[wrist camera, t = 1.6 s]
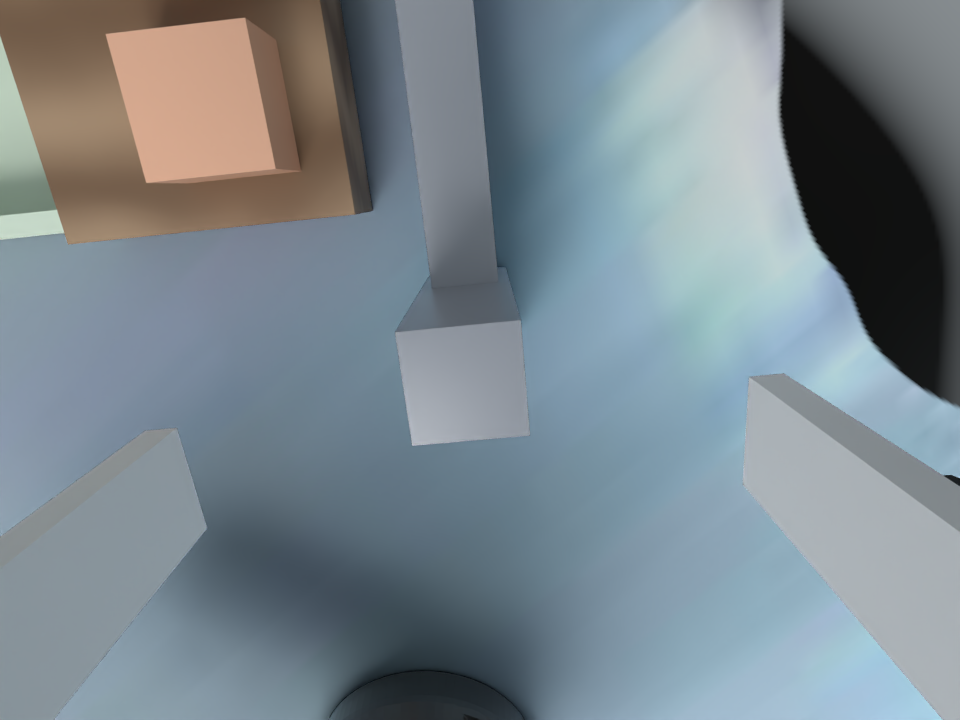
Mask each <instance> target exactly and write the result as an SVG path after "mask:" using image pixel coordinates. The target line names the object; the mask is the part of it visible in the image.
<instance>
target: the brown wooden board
mask: <svg viewBox="0 0 960 720" xmlns="http://www.w3.org/2000/svg"><path fill="white" fill-rule="evenodd" d="M237 18H246V19H248V20H249V21H250V22H252V23H253V24H255V25H256V26H257V27H259V28H260V29H262V30H263V31H264V32H266V33H267V34H269V35H270V36H271V37H273V38H274V39H276V41H277V47H278V52H279V57H280V62H281V68H282V73H283V78H284V83H285V89H286V94H287V99H288V105H289V110H290V115H291V120H292V126H293V131H294V136H295V142H296V147H297V152H298V157H299V163H300V168H301V171H299V172H290V173H281V174H271V175H262V176H253V177H243V178H234V179H225V180H215V181H206V182H197V183H146V180H145V177H144V173H143V169H142V166H141V162H140V158H139V155H138V151H137V147H136V144H135V140H134V136H133V133H132V129H131V125H130V122H129V118H128V114H127V111H126V107H125V103H124V100H123V96H122V92H121V89H120V85H119V81H118V78H117V74H116V71H115V67H114V63H113V60H112V56H111V52H110V49H109V45H108V41H107V38H106V34H110V33H118V32H127V31H135V30H144V29H152V28H161V27H169V26H178V25H186V24H195V23H203V22H212V21H220V20H229V19H237ZM0 37H1V40H2V43H3V46H4V49H5V52H6V55H7V59H8V62H9V65H10V68H11V71H12V74H13V77H14V80H15V83H16V86H17V89H18V92H19V95H20V98H21V101H22V105H23V108H24V111H25V114H26V117H27V120H28V123H29V126H30V129H31V132H32V135H33V138H34V141H35V144H36V147H37V151H38V154H39V157H40V160H41V163H42V166H43V169H44V172H45V175H46V178H47V181H48V184H49V187H50V190H51V193H52V197H53V200H54V203H55V206H56V209H57V212H58V215H59V218H60V221H61V224H62V227H63V230H64V233H65V236H66V239H67V243H68V244H76V243H86V242H96V241H105V240H115V239H124V238H134V237H144V236H153V235H163V234H172V233H182V232H192V231H201V230H211V229H220V228H230V227H240V226H249V225H259V224H268V223H278V222H288V221H297V220H307V219H316V218H326V217H336V216H345V215H355V214H360V213H364V212H369V211H373V210H372V203H371V197H370V190H369V184H368V178H367V171H366V165H365V158H364V152H363V145H362V139H361V132H360V126H359V119H358V113H357V107H356V100H355V94H354V87H353V81H352V74H351V68H350V61H349V55H348V48H347V42H346V35H345V29H344V23H343V16H342V10H341V3H340V0H0Z"/></svg>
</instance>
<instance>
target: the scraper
mask: <svg viewBox="0 0 960 720" xmlns="http://www.w3.org/2000/svg"><path fill="white" fill-rule="evenodd" d="M395 5H396V13H397V21H398V28H399V36H400V44H401V52H402V60H403V67H404V75H405V83H406V91H407V99H408V107H409V114H410V122H411V130H412V138H413V146H414V153H415V161H416V169H417V177H418V185H419V192H420V200H421V208H422V216H423V224H424V231H425V239H426V247H427V255H428V263H429V270H430V275H429V277H428V278H427V280H426V282H425V283H424V285H423V287H422V288H421V290H420V292H419V293H418V295H417V297H416V298H415V300H414V301H413V303H412V305H411V306H410V308H409V310H408V311H407V313H406V315H405V316H404V318H403V320H402V321H401V323H400V325H399V326H398V328H397V329H396V331H395V337H396V343H397V350H398V357H399V363H400V370H401V376H402V383H403V389H404V396H405V402H406V409H407V415H408V422H409V429H410V435H411V442H412V446H417V445H429V444H440V443H451V442H463V441H474V440H485V439H497V438H508V437H519V436H530V429H529V417H528V404H527V392H526V379H525V366H524V354H523V341H522V328H521V319H520V315H519V312H518V308H517V305H516V301H515V298H514V294H513V291H512V287H511V284H510V280H509V277H508V273H507V270H506V267H497V260H496V249H495V238H494V227H493V216H492V205H491V193H490V182H489V171H488V160H487V149H486V138H485V127H484V116H483V105H482V93H481V82H480V71H479V60H478V49H477V38H476V27H475V16H474V5H473V0H395Z"/></svg>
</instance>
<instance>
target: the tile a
mask: <svg viewBox="0 0 960 720" xmlns="http://www.w3.org/2000/svg"><path fill="white" fill-rule="evenodd" d="M106 38H107V41H108V45H109V49H110V52H111V56H112V60H113V63H114V67H115V71H116V74H117V78H118V81H119V85H120V89H121V92H122V96H123V100H124V103H125V107H126V111H127V114H128V118H129V122H130V125H131V129H132V133H133V136H134V140H135V144H136V147H137V151H138V155H139V158H140V162H141V166H142V169H143V173H144V177H145V180H146V183H197V182H206V181H215V180H225V179H234V178H243V177H253V176H262V175H271V174H281V173H290V172H299V171H301V168H300V163H299V157H298V152H297V147H296V142H295V136H294V131H293V126H292V120H291V115H290V110H289V105H288V99H287V94H286V89H285V83H284V78H283V73H282V68H281V62H280V57H279V52H278V47H277V41H276V39H274V38H273V37H271V36H270V35H269V34H267V33H266V32H264V31H263V30H262V29H260V28H259V27H257V26H256V25H255V24H253V23H252V22H250V21H249V20H248V19H246V18H237V19H229V20H220V21H212V22H203V23H195V24H186V25H178V26H169V27H161V28H152V29H144V30H135V31H127V32H118V33H110V34H106Z"/></svg>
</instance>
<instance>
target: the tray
mask: <svg viewBox="0 0 960 720" xmlns="http://www.w3.org/2000/svg"><path fill="white" fill-rule="evenodd" d="M59 233H64V230H63V227H62V224H61V221H60V218H59V215H58V212H57V209H56V206H55V203H54V200H53V197H52V193H51V190H50V187H49V184H48V181H47V178H46V175H45V172H44V169H43V166H42V163H41V160H40V157H39V154H38V151H37V147H36V144H35V141H34V138H33V135H32V132H31V129H30V126H29V123H28V120H27V117H26V114H25V111H24V108H23V105H22V101H21V98H20V95H19V92H18V89H17V86H16V83H15V80H14V77H13V74H12V71H11V68H10V65H9V62H8V59H7V55H6V52H5V49H4V46H3V43H2V40H1V37H0V240H2V239H12V238H21V237H31V236H40V235H50V234H59Z"/></svg>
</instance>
